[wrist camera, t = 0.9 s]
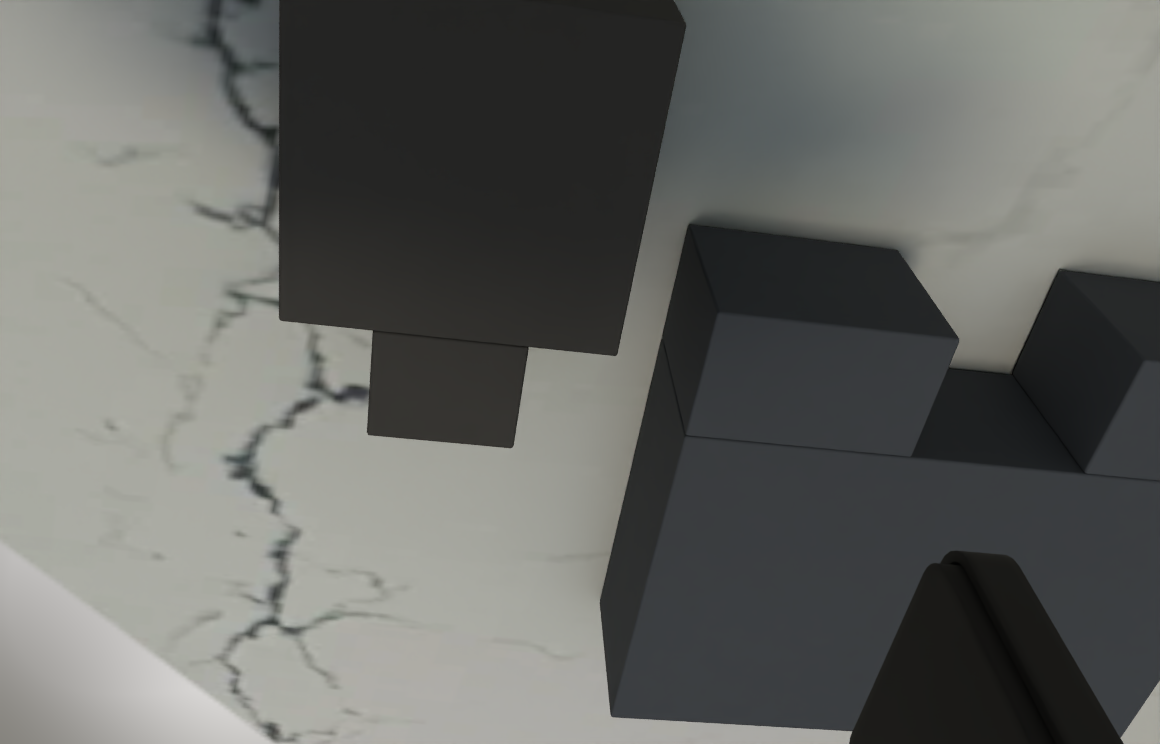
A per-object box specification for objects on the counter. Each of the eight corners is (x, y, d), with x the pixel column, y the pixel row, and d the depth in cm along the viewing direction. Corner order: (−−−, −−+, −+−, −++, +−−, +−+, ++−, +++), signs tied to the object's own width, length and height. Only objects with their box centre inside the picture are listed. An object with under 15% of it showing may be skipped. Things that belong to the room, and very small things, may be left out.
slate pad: (688, 222, 23) (717, 312, 20) (1249, 292, 25) (1363, 384, 22) (599, 602, 30) (610, 718, 26) (1051, 635, 32) (1115, 747, 28)
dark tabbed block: (319, -85, 19) (278, -39, 16) (658, -31, 20) (687, 23, 17) (310, 326, 24) (278, 428, 21) (584, 355, 25) (596, 457, 22)
